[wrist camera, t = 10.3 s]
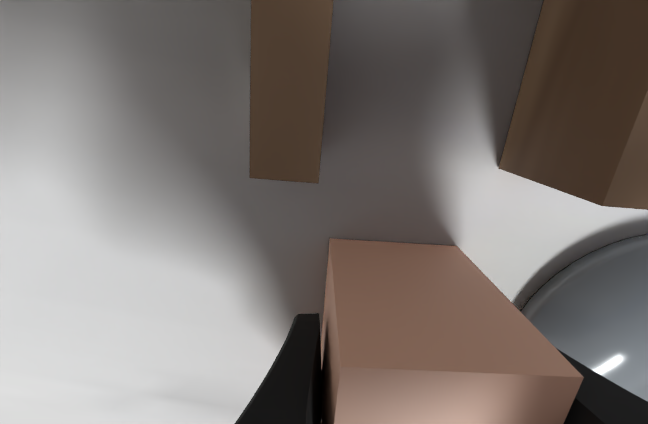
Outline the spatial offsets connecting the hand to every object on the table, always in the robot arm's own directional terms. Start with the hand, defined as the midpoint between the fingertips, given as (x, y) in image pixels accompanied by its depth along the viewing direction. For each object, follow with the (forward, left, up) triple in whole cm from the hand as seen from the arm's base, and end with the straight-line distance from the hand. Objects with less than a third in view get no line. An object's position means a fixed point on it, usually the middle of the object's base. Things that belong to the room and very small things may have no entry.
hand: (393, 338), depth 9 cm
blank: (0, +1, -1) cm, 1 cm away
